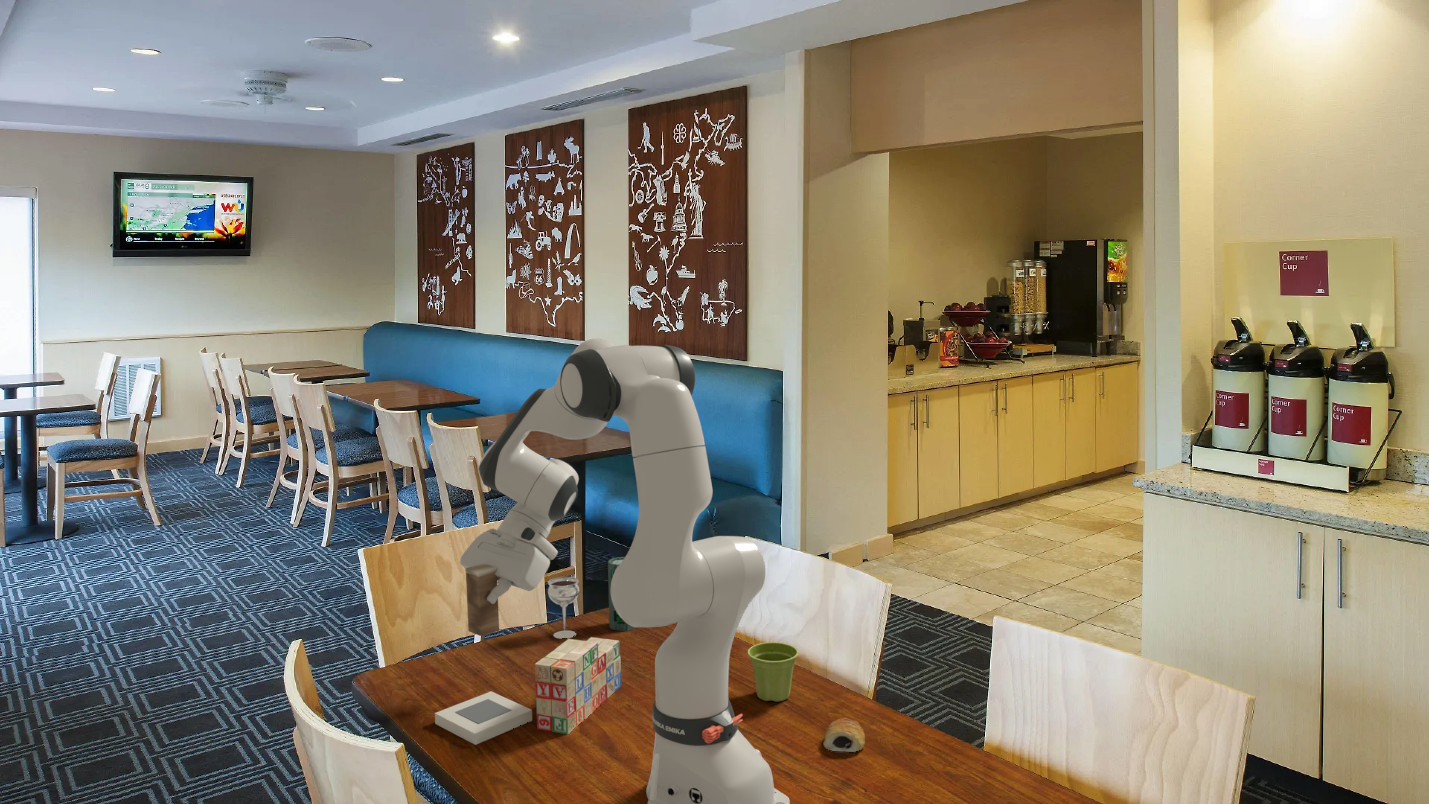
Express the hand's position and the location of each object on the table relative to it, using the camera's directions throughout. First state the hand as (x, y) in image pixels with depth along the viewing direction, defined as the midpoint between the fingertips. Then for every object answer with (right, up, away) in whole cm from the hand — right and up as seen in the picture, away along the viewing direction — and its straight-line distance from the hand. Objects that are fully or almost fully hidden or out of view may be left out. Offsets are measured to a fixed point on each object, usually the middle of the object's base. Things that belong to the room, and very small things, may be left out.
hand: (479, 598), depth 186 cm
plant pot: (+54, -19, +2) cm, 58 cm away
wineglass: (+11, -15, +34) cm, 38 cm away
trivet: (+3, -20, -8) cm, 22 cm away
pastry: (+65, -22, -16) cm, 71 cm away
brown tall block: (+1, -6, +1) cm, 6 cm away
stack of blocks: (+19, -20, -2) cm, 28 cm away
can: (+23, -14, +39) cm, 47 cm away
